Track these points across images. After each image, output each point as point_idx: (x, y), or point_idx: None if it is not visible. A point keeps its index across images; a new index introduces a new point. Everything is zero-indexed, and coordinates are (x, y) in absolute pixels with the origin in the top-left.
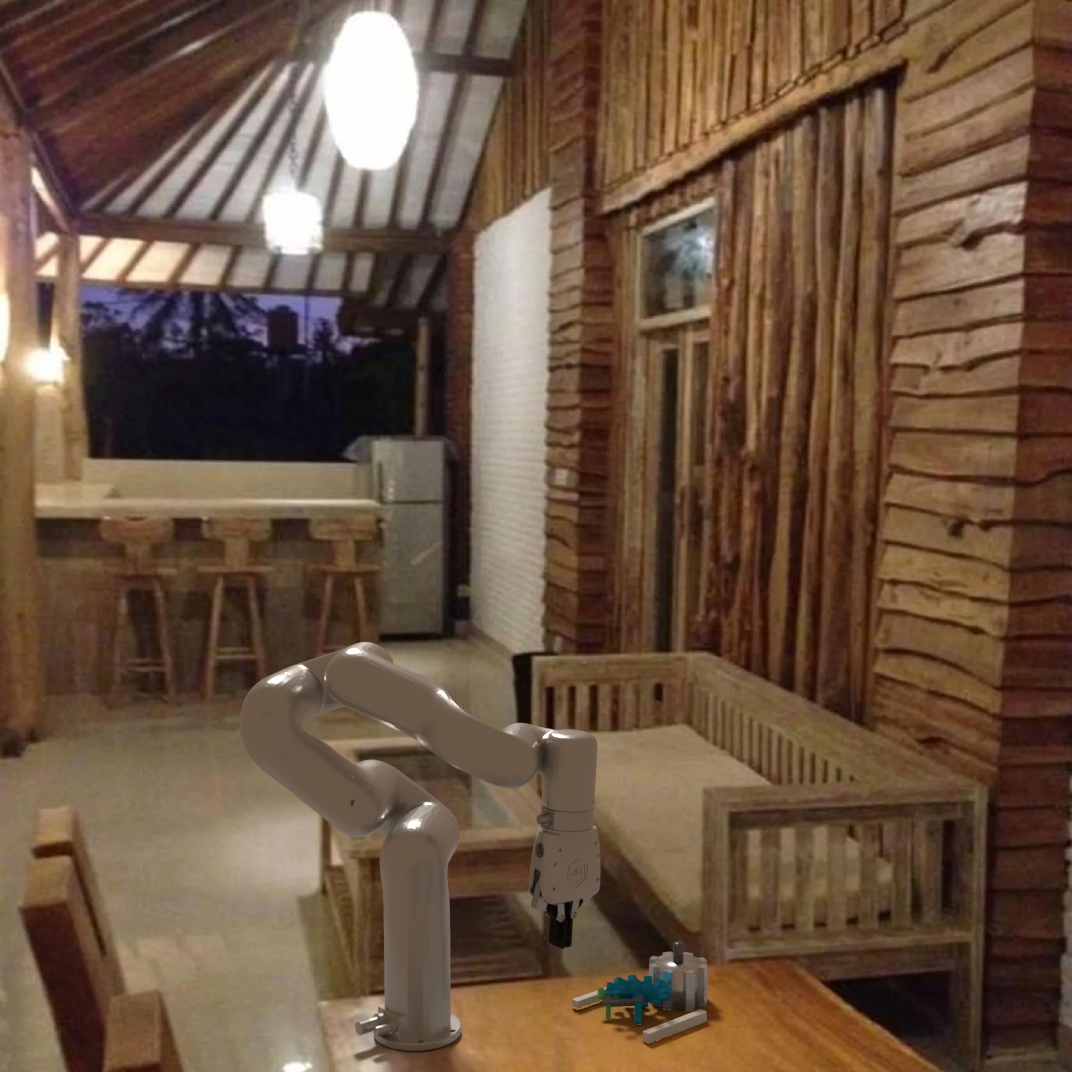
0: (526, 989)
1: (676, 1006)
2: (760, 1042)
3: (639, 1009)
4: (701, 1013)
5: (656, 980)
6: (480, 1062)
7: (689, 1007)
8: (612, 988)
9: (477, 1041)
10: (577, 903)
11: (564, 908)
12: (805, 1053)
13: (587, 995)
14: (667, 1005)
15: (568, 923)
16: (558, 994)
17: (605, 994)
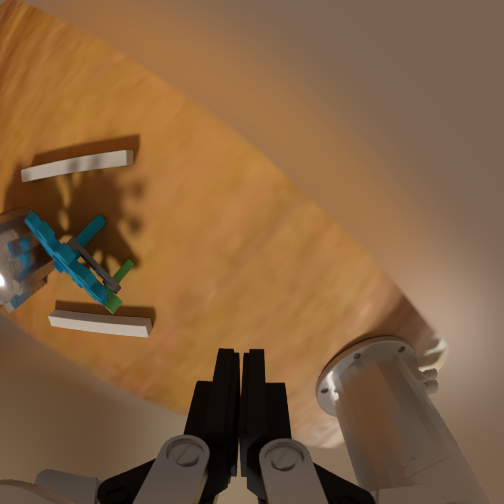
0: (173, 399)
1: None
2: (31, 78)
3: (84, 232)
4: (28, 168)
5: (28, 270)
6: (382, 274)
7: (25, 211)
8: (99, 284)
9: (337, 328)
10: (149, 498)
11: (206, 494)
12: (29, 35)
13: (121, 330)
14: None
15: (232, 423)
16: (144, 368)
17: (108, 297)
